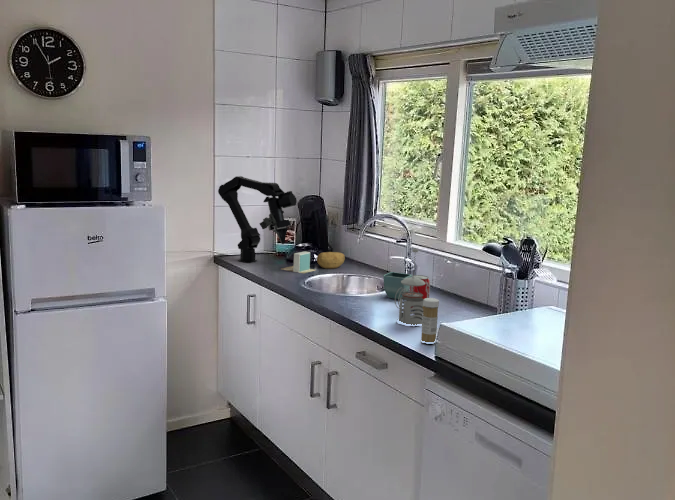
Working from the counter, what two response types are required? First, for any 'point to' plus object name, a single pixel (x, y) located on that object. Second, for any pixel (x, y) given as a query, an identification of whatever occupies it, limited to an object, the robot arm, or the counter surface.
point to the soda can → (422, 287)
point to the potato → (330, 259)
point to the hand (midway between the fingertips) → (283, 243)
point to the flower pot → (395, 284)
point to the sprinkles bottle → (429, 319)
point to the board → (298, 272)
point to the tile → (301, 261)
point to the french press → (411, 301)
